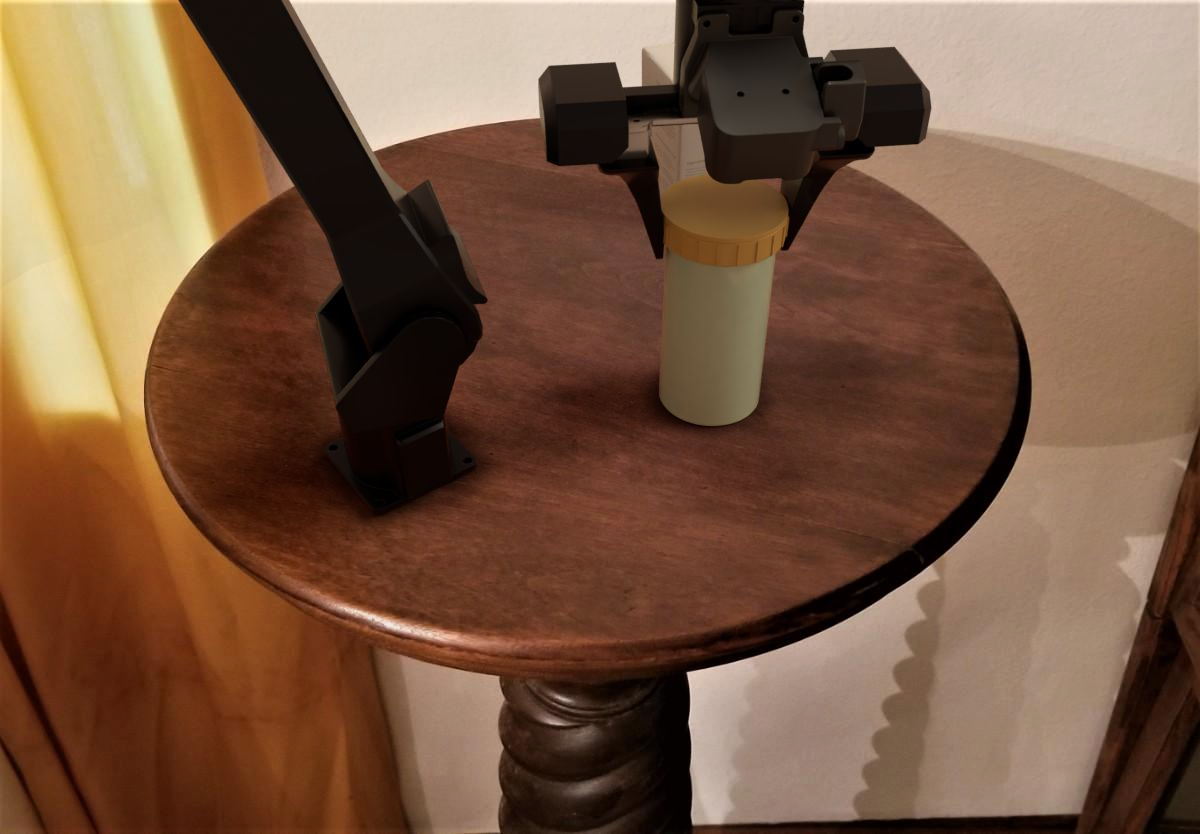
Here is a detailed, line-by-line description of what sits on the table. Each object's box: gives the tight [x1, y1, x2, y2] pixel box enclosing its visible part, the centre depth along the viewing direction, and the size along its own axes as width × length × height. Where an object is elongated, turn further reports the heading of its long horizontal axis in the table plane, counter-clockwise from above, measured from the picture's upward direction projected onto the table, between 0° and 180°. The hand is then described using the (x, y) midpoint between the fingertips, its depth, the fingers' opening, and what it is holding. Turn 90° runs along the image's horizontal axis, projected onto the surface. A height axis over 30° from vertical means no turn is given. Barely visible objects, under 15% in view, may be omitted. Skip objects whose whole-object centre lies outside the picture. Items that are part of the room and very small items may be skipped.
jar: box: [658, 245, 777, 427], centre depth 65 cm, size 6×6×12 cm
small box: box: [641, 42, 708, 200], centre depth 83 cm, size 8×6×10 cm
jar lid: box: [661, 174, 789, 267], centre depth 61 cm, size 7×7×2 cm
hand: (720, 251), depth 62 cm, fingers closed on jar lid, 6 cm apart
